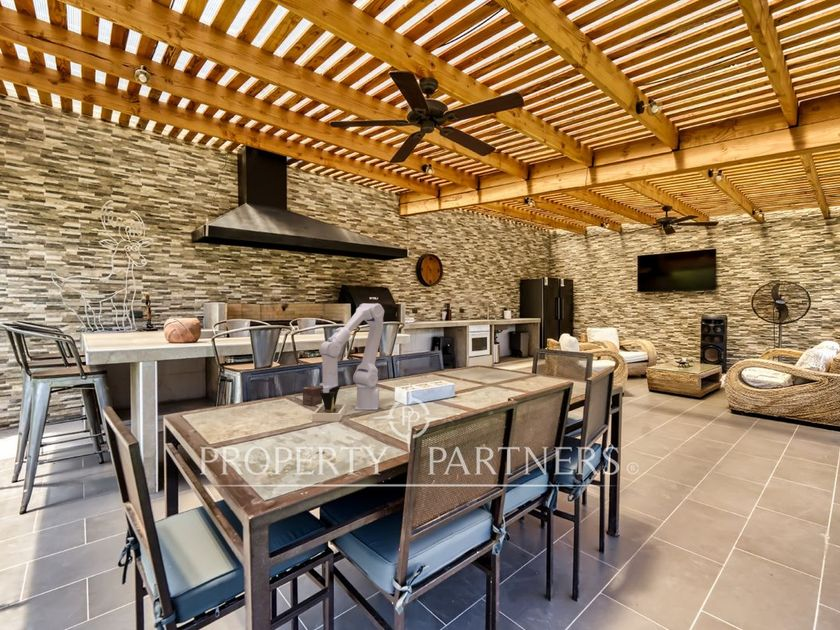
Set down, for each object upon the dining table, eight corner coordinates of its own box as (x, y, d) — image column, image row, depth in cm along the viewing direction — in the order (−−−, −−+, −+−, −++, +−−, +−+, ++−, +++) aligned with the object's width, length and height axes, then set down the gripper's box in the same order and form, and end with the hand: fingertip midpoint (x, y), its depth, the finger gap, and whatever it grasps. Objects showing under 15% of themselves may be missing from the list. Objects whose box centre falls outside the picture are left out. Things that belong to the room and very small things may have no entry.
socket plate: (342, 412, 162) (342, 407, 162) (338, 418, 154) (338, 412, 154) (322, 412, 162) (322, 407, 162) (317, 417, 154) (317, 412, 154)
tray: (346, 411, 165) (346, 404, 165) (339, 421, 151) (339, 413, 151) (321, 411, 165) (321, 404, 165) (312, 421, 151) (312, 413, 151)
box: (322, 403, 178) (322, 386, 177) (312, 406, 173) (312, 389, 172) (312, 401, 181) (312, 385, 181) (302, 404, 176) (302, 387, 176)
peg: (334, 414, 159) (334, 396, 159) (332, 416, 156) (332, 398, 156) (327, 413, 159) (327, 396, 159) (324, 416, 156) (324, 398, 156)
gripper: (324, 369, 164) (324, 402, 165) (314, 375, 150) (315, 412, 150) (341, 369, 164) (341, 402, 165) (333, 375, 150) (334, 412, 150)
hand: (330, 407), depth 158 cm, fingers open, 7 cm apart
